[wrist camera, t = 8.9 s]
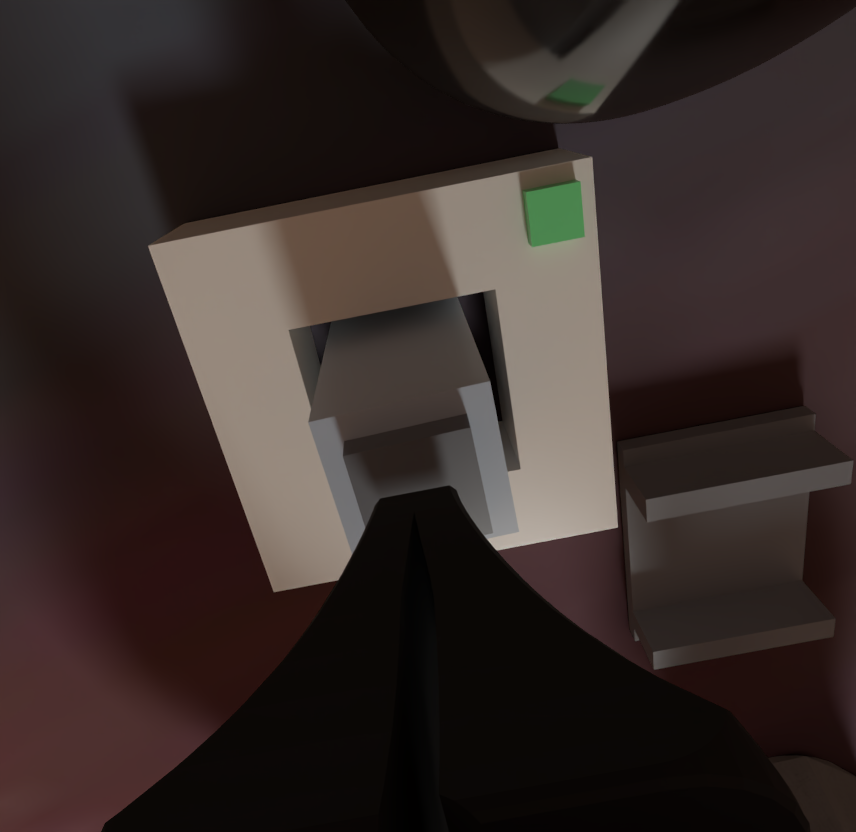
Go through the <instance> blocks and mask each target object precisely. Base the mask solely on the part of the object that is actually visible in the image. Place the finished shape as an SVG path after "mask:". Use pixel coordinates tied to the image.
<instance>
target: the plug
mask: <svg viewBox="0 0 856 832" xmlns="http://www.w3.org/2000/svg"><path fill="white" fill-rule="evenodd" d="M308 423H309V426H310V429H311V432H312V435H313V438H314V441H315V444H316V447H317V450H318V453H319V456H320V459H321V462H322V465H323V468H324V471H325V474H326V477H327V480H328V483H329V486H330V489H331V492H332V495H333V498H334V501H335V504H336V507H337V510H338V513H339V516H340V519H341V522H342V525H343V528H344V531H345V534H346V537H347V540H348V543H349V546H350V549H351V552H352V554H353V552H354V550H355V548H356V546H357V544H358V542H359V540H360V538H361V536H362V534H363V532H364V530H365V528H366V525H367V523H368V521H369V519H370V516H371V514H372V512H373V509H374V506H375V505H376V503H377V502H378V501H379V499H380V498H385V497H390V496H395V495H401V494H406V493H411V492H416V491H422V490H427V489H432V488H437V487H443V486H448V485H450V486H451V487H453V488H454V489H456V490H457V493H458V496H459V498H460V500H461V502H462V504H463V506H464V507H465V509H466V511H467V512H468V514H469V515H470V517H471V518H472V520H473V521H474V523H475V524H476V526H477V527H478V528H479V530H480V531H481V532H482V534H483V535H484V536H485V537H486V538H487V539H489V538H493V537H498V536H502V535H507V534H512V533H516V532H519V528H518V523H517V518H516V513H515V508H514V502H513V497H512V492H511V487H510V482H509V477H508V471H507V466H506V461H505V456H504V451H503V445H502V440H501V435H500V430H499V425H498V420H497V414H496V409H495V404H494V399H493V394H492V388H491V383H490V380H489V377H488V374H487V372H486V369H485V367H484V364H483V362H482V359H481V356H480V354H479V351H478V349H477V346H476V344H475V341H474V338H473V336H472V333H471V331H470V328H469V326H468V323H467V320H466V318H465V315H464V313H463V310H462V308H461V305H460V302H459V300H458V297H454V298H448V299H443V300H438V301H433V302H428V303H423V304H418V305H413V306H408V307H403V308H398V309H393V310H387V311H382V312H377V313H372V314H367V315H362V316H357V317H352V318H347V319H342V320H337V321H331V325H330V329H329V333H328V338H327V342H326V346H325V351H324V355H323V360H322V364H321V368H320V373H319V377H318V381H317V386H316V390H315V394H314V399H313V403H312V408H311V412H310V416H309V421H308Z"/></svg>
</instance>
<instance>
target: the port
mask: <svg viewBox="0 0 856 832" xmlns="http://www.w3.org/2000/svg"><path fill="white" fill-rule="evenodd" d="M148 247H149V250H150V253H151V256H152V258H153V261H154V264H155V267H156V269H157V272H158V275H159V278H160V280H161V283H162V286H163V289H164V291H165V294H166V297H167V300H168V302H169V305H170V308H171V311H172V313H173V316H174V319H175V322H176V324H177V327H178V330H179V333H180V335H181V338H182V341H183V344H184V346H185V349H186V352H187V355H188V357H189V360H190V363H191V366H192V368H193V371H194V374H195V377H196V379H197V382H198V385H199V388H200V390H201V393H202V396H203V399H204V401H205V404H206V407H207V410H208V412H209V415H210V418H211V421H212V423H213V426H214V429H215V432H216V434H217V437H218V440H219V443H220V445H221V448H222V451H223V454H224V456H225V459H226V462H227V465H228V467H229V470H230V473H231V476H232V478H233V481H234V484H235V487H236V489H237V492H238V495H239V498H240V500H241V503H242V506H243V509H244V511H245V514H246V517H247V520H248V522H249V525H250V528H251V531H252V533H253V536H254V539H255V542H256V544H257V547H258V550H259V553H260V555H261V558H262V561H263V564H264V566H265V569H266V572H267V575H268V577H269V580H270V583H271V586H272V588H273V591H274V592H278V591H284V590H289V589H294V588H299V587H305V586H310V585H315V584H321V583H326V582H331V581H337V580H339V578H340V576H341V575H342V573H343V571H344V569H345V567H346V565H347V563H348V561H349V560H350V558H351V556H352V552H351V549H350V546H349V543H348V540H347V537H346V534H345V531H344V528H343V525H342V522H341V519H340V516H339V513H338V510H337V507H336V504H335V501H334V498H333V495H332V492H331V489H330V486H329V483H328V480H327V477H326V474H325V471H324V468H323V465H322V462H321V459H320V456H319V453H318V450H317V447H316V444H315V441H314V438H313V435H312V432H311V429H310V426H309V423H308V421H309V416H310V412H311V408H312V403H313V399H314V394H315V390H316V386H317V381H318V377H319V373H320V368H321V365H320V361H319V357H318V354H317V350H316V346H315V343H314V339H313V335H312V332H311V328H310V326H311V325H316V324H321V323H326V322H331V321H337V320H342V319H347V318H352V317H357V316H362V315H367V314H372V313H377V312H382V311H387V310H393V309H398V308H403V307H408V306H413V305H418V304H423V303H428V302H433V301H438V300H443V299H448V298H454V297H459V296H464V295H469V294H474V293H479V292H483V294H484V301H485V308H486V314H487V321H488V328H489V334H490V341H491V348H492V355H493V361H494V368H495V375H496V381H497V388H498V395H499V401H500V408H501V415H502V421H499V422H498V425H499V430H500V435H501V440H502V445H503V451H504V456H505V461H506V466H507V471H508V477H509V482H510V487H511V492H512V497H513V502H514V508H515V513H516V518H517V523H518V528H519V532H516V533H512V534H507V535H502V536H498V537H493V538H489V539H487V540H488V541H489V542H490V543H491V545H492V546H493V547H494V548H495V549H496V550H501V549H507V548H512V547H517V546H523V545H528V544H533V543H539V542H544V541H549V540H554V539H560V538H565V537H570V536H576V535H581V534H586V533H592V532H597V531H602V530H608V529H613V528H618V521H617V506H616V492H615V478H614V463H613V449H612V435H611V420H610V406H609V392H608V377H607V363H606V349H605V334H604V320H603V306H602V291H601V277H600V263H599V248H598V234H597V220H596V205H595V191H594V177H593V162H592V157H591V156H587V155H583V154H579V153H575V152H572V151H568V150H564V149H560V148H557V149H553V150H548V151H543V152H538V153H533V154H528V155H523V156H518V157H513V158H508V159H503V160H498V161H493V162H488V163H483V164H478V165H473V166H468V167H463V168H458V169H453V170H448V171H443V172H438V173H433V174H428V175H423V176H418V177H413V178H408V179H403V180H398V181H393V182H388V183H383V184H378V185H373V186H368V187H363V188H358V189H353V190H348V191H343V192H338V193H333V194H328V195H323V196H318V197H313V198H308V199H303V200H298V201H293V202H288V203H284V204H279V205H274V206H269V207H264V208H259V209H254V210H249V211H244V212H239V213H234V214H229V215H224V216H219V217H214V218H209V219H204V220H199V221H194V222H189V223H184V224H182V225H181V226H179V227H178V228H176V229H174V230H173V231H171V232H170V233H168V234H166V235H165V236H163V237H161V238H160V239H158V240H157V241H155V242H153V243H152V244H150V245H149V246H148Z"/></svg>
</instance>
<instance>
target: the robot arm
mask: <svg viewBox="0 0 856 832" xmlns="http://www.w3.org/2000/svg"><path fill="white" fill-rule="evenodd" d="M101 832H810V823H809V822H808V820H807V818H806V817H805V815H804V814H803V811H802V809H801V807H800V805H799V803H798V801H797V800H796V798H795V796H794V794H793V793H792V791H791V789H790V788H789V786H788V785H787V783H786V782H785V781H784V779H783V778H782V776H781V775H780V773H779V772H778V771H777V769H776V768H775V767H774V765H773V764H772V763H771V761H770V760H769V759H768V757H767V756H766V755H765V753H764V752H763V751H762V750H761V748H760V747H759V746H758V744H757V743H756V742H755V741H754V739H753V738H752V737H751V736H750V735H749V733H748V732H747V731H746V730H745V728H744V727H743V726H742V725H741V724H740V722H739V721H738V720H737V719H736V718H735V717H734V716H733V714H732V713H731V712H730V711H728V710H726V709H724V708H722V707H720V706H718V705H716V704H714V703H712V702H709V701H707V700H705V699H703V698H701V697H699V696H697V695H695V694H692V693H690V692H688V691H686V690H684V689H682V688H680V687H678V686H675V685H673V684H671V683H669V682H667V681H665V680H663V679H661V678H659V677H657V676H655V675H653V674H652V673H650V672H648V671H646V670H645V669H643V668H641V667H639V666H638V665H636V664H634V663H632V662H631V661H629V660H628V659H626V658H625V657H623V656H622V655H620V654H619V653H617V652H616V651H614V650H613V649H611V648H610V647H608V646H607V645H605V644H603V643H602V642H600V641H599V640H597V639H596V638H594V637H593V636H591V635H590V634H588V633H587V632H585V631H584V630H583V629H581V628H580V627H579V626H577V625H576V624H575V623H573V622H572V621H571V620H570V619H568V618H567V617H566V616H564V615H563V614H562V613H561V612H559V611H558V610H557V609H556V608H554V607H553V606H552V605H551V604H550V603H549V602H547V601H546V600H545V599H544V598H543V597H542V596H540V595H539V594H538V593H537V592H536V591H535V590H534V589H533V588H532V587H531V586H530V585H529V584H528V583H527V582H525V581H524V580H523V579H522V578H521V577H520V576H519V574H518V573H517V572H516V571H515V570H514V569H513V568H512V567H511V566H510V565H509V564H508V563H507V562H506V561H505V560H504V559H503V558H502V556H501V555H500V554H499V553H498V552H497V551H496V549H495V548H494V547H493V546H492V545H491V543H490V542H489V541H488V540H487V538H486V537H485V536H484V535H483V534H482V532H481V531H480V530H479V528H478V527H477V526H476V524H475V523H474V521H473V520H472V518H471V517H470V515H469V514H468V512H467V511H466V509H465V507H464V506H463V504H462V502H461V500H460V498H459V496H458V493H457V490H456V489H454V488H453V487H451V486H450V485H448V486H443V487H437V488H432V489H427V490H422V491H416V492H411V493H406V494H401V495H395V496H390V497H385V498H380V499H379V501H378V502H377V503H376V505H375V506H374V509H373V512H372V514H371V516H370V519H369V521H368V523H367V525H366V528H365V530H364V532H363V534H362V536H361V538H360V540H359V542H358V544H357V546H356V548H355V550H354V552H353V554H352V556H351V558H350V560H349V561H348V563H347V565H346V567H345V569H344V571H343V573H342V575H341V576H340V578H339V580H338V581H337V583H336V585H335V586H334V588H333V590H332V591H331V593H330V594H329V596H328V598H327V599H326V601H325V602H324V604H323V606H322V607H321V609H320V610H319V612H318V613H317V615H316V616H315V618H314V619H313V621H312V622H311V624H310V625H309V627H308V628H307V629H306V631H305V632H304V634H303V635H302V636H301V638H300V639H299V640H298V642H297V643H296V644H295V646H294V647H293V648H292V649H291V651H290V652H289V653H288V655H287V656H286V657H285V658H284V660H283V661H282V662H281V663H280V664H279V666H278V667H277V668H276V669H275V670H274V671H273V672H272V674H271V675H270V676H269V677H268V678H267V679H266V680H265V681H264V682H263V683H262V685H261V686H260V687H259V688H258V689H257V690H256V691H255V692H254V693H253V694H252V696H251V697H250V698H249V699H248V700H247V701H246V702H245V703H244V704H243V705H242V706H241V707H240V708H239V709H238V710H237V711H236V712H235V713H234V714H233V715H232V716H231V717H230V718H229V719H228V720H227V721H226V722H225V723H224V724H223V725H222V726H221V727H220V728H219V729H218V730H217V731H216V732H215V733H214V734H212V735H211V736H210V737H209V738H208V739H207V740H206V741H205V742H204V743H203V744H201V745H200V746H199V747H198V748H197V749H196V750H195V751H194V752H193V753H192V754H190V755H189V756H188V757H187V758H186V759H185V760H184V761H182V762H181V763H180V764H179V765H178V766H177V767H175V768H174V769H173V770H172V771H171V772H169V773H168V774H167V775H166V776H164V777H163V778H162V779H161V780H159V781H158V782H157V783H156V784H154V785H153V786H152V787H151V788H149V789H148V790H147V791H146V792H144V793H143V794H142V795H141V796H139V797H138V798H137V799H136V800H134V801H133V802H132V803H131V804H129V805H128V806H127V807H126V808H124V809H123V810H122V811H121V812H119V813H118V814H117V815H115V816H114V817H113V818H111V819H110V820H109V821H107V822H106V823H105V824H104V827H103V829H102V831H101Z"/></svg>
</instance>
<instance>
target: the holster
mask: <svg viewBox="0 0 856 832" xmlns="http://www.w3.org/2000/svg"><path fill="white" fill-rule="evenodd" d="M815 417H816V414H815V413H814V412H813V411H811V410H810V409H808V408H807V407H806V406H800V407H795V408H790V409H785V410H780V411H774V412H769V413H764V414H759V415H753V416H748V417H743V418H738V419H732V420H727V421H722V422H717V423H711V424H706V425H701V426H696V427H691V428H685V429H680V430H675V431H670V432H664V433H659V434H654V435H649V436H643V437H638V438H633V439H628V440H622V441H617V449H618V464H619V480H620V495H621V510H622V525H623V540H624V555H625V570H626V586H627V601H628V616H629V630H630V632H631V634H632V636H633V638H634V640H635V641H639V640H640V642H641V644H642V646H643V648H644V650H645V652H646V654H647V657H648V659H649V661H650V663H651V665H652V667H653V669H654V670H655V669H661V668H666V667H672V666H677V665H683V664H688V663H694V662H699V661H704V660H710V659H715V658H721V657H726V656H732V655H737V654H743V653H748V652H754V651H759V650H764V649H770V648H775V647H781V646H786V645H792V644H797V643H803V642H808V641H813V640H819V639H824V638H830V637H834V629H835V620H836V618H835V617H834V616H833V615H832V614H831V613H830V612H829V610H828V609H827V608H826V607H825V606H824V605H823V604H822V602H821V601H820V600H819V599H818V598H817V597H816V596H815V594H814V593H813V592H812V591H811V590H810V589H809V588H808V586H807V585H806V584H805V583H804V582H803V581H802V578H803V566H804V553H805V541H806V528H807V516H808V504H809V492H811V491H817V490H822V489H827V488H832V487H838V486H843V485H848V484H851V478H852V469H853V460H852V459H851V458H849V457H848V456H847V455H845V454H844V453H843V452H842V451H840V450H839V449H838V448H836V447H835V446H834V445H832V444H831V443H830V442H828V441H827V440H826V439H824V438H823V437H822V436H821V435H819V434H818V433H817V432H815V431H814V430H815Z"/></svg>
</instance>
